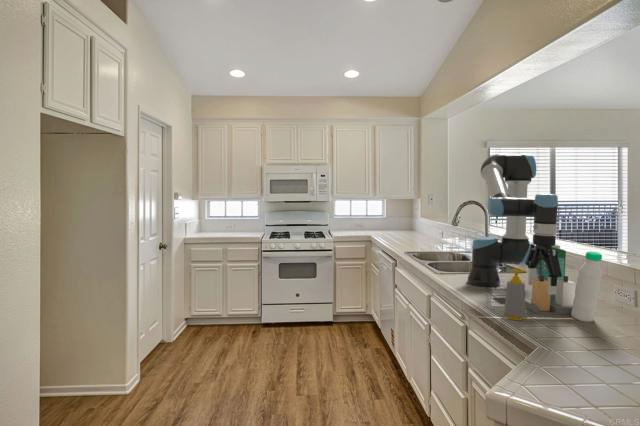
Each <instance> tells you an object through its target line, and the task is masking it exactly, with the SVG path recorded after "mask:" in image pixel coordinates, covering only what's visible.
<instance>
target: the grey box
mask: <svg viewBox="0 0 640 426" xmlns="http://www.w3.org/2000/svg"><path fill="white" fill-rule="evenodd" d="M575 290H576V282H574V281H571V280H569V275H568V276H567V275H565V276H563V280H557V286H556V296H555V301H550V311H540V307H538V306H536V305H534V304H532V302H531V301H529V300H525V309H528V310H529V311H531V312H532V313H535V314H537V315H571V311H572V307H573V301H574V298H575Z"/></svg>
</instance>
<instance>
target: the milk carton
mask: <svg viewBox="0 0 640 426" xmlns="http://www.w3.org/2000/svg"><path fill="white" fill-rule="evenodd" d="M552 250H557V251H558V260H559V265H560V269H561V274H562V277H558V278H557V280H563V276H566V255H567V251H566V250H565V249H562V248H561V245H559V244H556V243H555V245H554V246H552ZM536 267H537V268H536V269H537V270H536V279H539V277H540V275H544V280H547V281H548V276H549V275H550V274H549V272H548V269H547V266H546V264H545V261H543V259H540V261H539V262H538V264H537V265H536ZM555 296H556V295H550V301H555Z"/></svg>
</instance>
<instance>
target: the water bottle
mask: <svg viewBox="0 0 640 426" xmlns="http://www.w3.org/2000/svg"><path fill="white" fill-rule="evenodd" d="M602 259H603V255H602V253H600V252H598V251H597V252H596V251H587V252H585V262H584V263H582V265H581V267H579V269H578V275H577V280H576V283H575V298H574V301H573V307H572V311H571V314H570V315H571V316H572V318H573V319H576V320H577V321H581V322H585V323H588V322H589V323H591V322H593V321H595V317H596V316H595V315H596V310H597V305H598V299H599V296H600V290H601V286H602V278H603V276H604V273H603V271H602V267H601V265H600V263H601V261H602Z"/></svg>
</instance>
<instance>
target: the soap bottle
mask: <svg viewBox="0 0 640 426" xmlns="http://www.w3.org/2000/svg"><path fill="white" fill-rule="evenodd" d="M511 270H512V271H514V272H513V274H514V276H512V278H510V280H509V281H507V282H506V291H505V298H506V300H505V305H504V311H503V312H504V313H503V314H504V315H505V317H506V319H509V320H513V321H522V320H524V318H525V317H526V307H525V301H526V289H525V288H526V287H525V285H526V284H525V282H522V280H521V278H520V276H519V273H527V270H521V269H517V268H511Z"/></svg>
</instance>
